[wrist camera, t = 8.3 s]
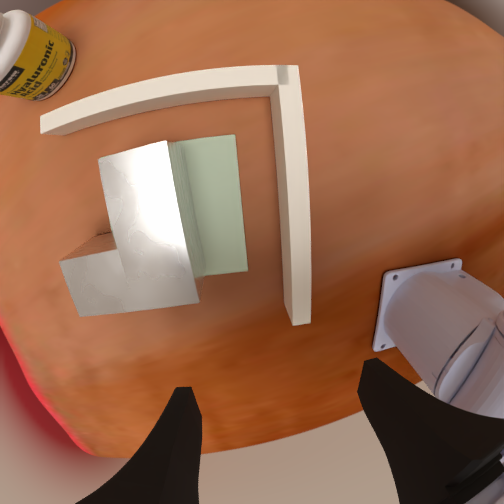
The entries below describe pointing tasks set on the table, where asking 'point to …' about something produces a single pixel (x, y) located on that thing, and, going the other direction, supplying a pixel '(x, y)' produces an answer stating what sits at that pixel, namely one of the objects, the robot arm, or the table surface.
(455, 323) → the robot arm
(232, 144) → the mat
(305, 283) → the arena
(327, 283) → the table surface
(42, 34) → the supplement bottle
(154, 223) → the bracket
